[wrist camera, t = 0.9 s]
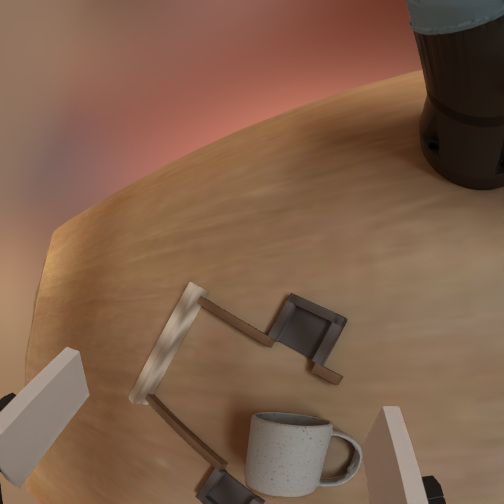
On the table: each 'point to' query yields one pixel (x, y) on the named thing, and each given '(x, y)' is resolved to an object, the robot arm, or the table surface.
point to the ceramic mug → (291, 455)
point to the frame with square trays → (284, 330)
